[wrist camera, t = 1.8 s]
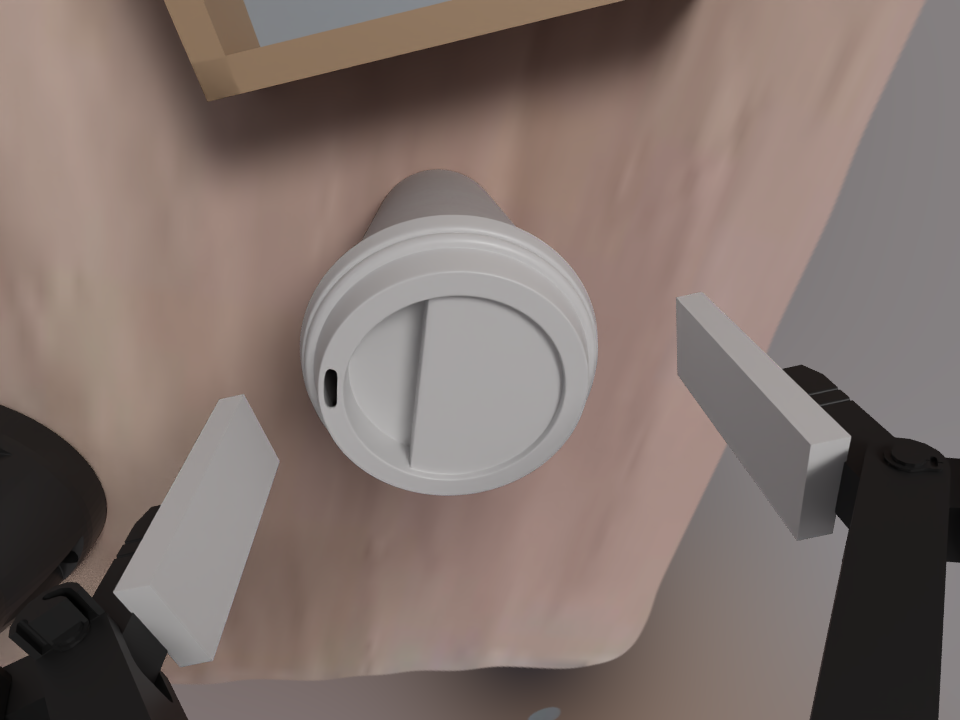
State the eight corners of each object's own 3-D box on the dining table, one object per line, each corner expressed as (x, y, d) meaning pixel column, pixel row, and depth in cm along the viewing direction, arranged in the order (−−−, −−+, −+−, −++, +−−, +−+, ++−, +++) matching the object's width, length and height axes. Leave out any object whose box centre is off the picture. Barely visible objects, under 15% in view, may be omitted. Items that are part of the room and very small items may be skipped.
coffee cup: (396, 95, 25) (376, 166, 13) (564, 197, 29) (683, 336, 16) (316, 268, 29) (238, 456, 17) (471, 341, 32) (507, 545, 20)
